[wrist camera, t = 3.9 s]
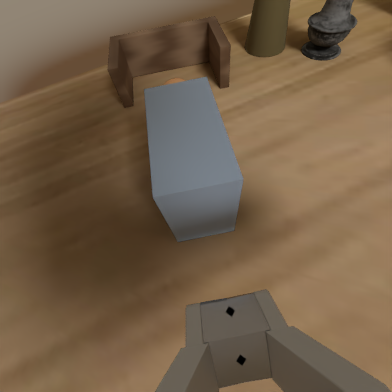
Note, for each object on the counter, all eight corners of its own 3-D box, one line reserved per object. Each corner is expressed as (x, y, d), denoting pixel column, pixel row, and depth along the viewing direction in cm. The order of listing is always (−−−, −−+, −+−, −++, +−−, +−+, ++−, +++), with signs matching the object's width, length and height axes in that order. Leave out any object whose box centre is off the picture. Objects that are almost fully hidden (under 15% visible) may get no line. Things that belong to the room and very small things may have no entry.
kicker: (178, 242, 18) (152, 197, 11) (166, 156, 23) (143, 89, 16) (234, 230, 18) (243, 179, 11) (210, 147, 23) (206, 76, 16)
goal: (124, 107, 28) (107, 69, 24) (124, 74, 32) (110, 36, 28) (228, 86, 28) (230, 45, 24) (215, 56, 32) (214, 16, 28)
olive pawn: (239, 54, 32) (247, -56, 22) (251, 35, 34) (263, -72, 25) (279, 59, 30) (306, -58, 21) (288, 38, 33) (317, -74, 23)
